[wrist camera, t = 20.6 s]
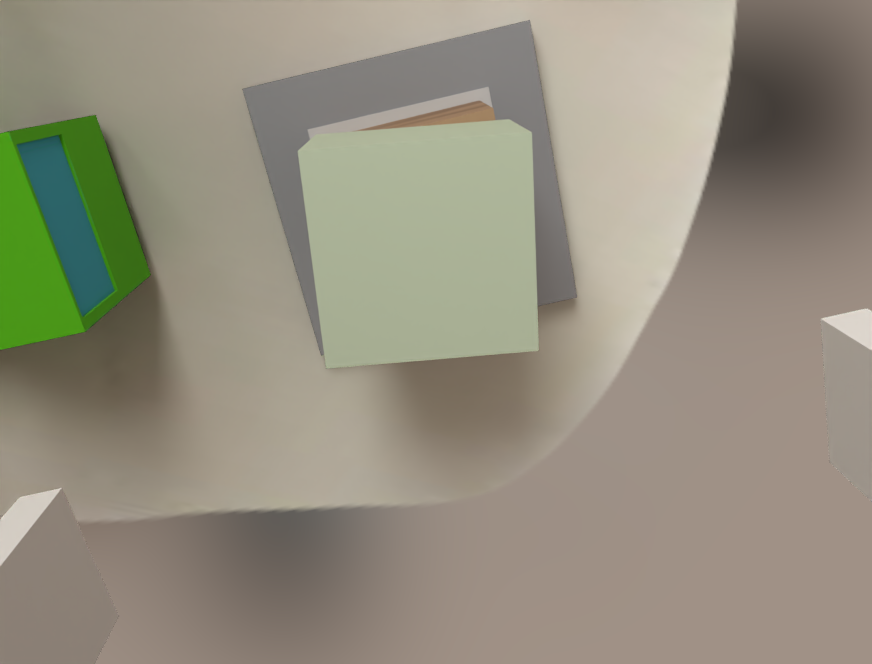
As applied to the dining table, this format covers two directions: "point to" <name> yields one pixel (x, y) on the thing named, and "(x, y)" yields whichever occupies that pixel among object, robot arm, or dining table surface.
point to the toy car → (62, 233)
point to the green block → (422, 241)
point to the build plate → (402, 98)
